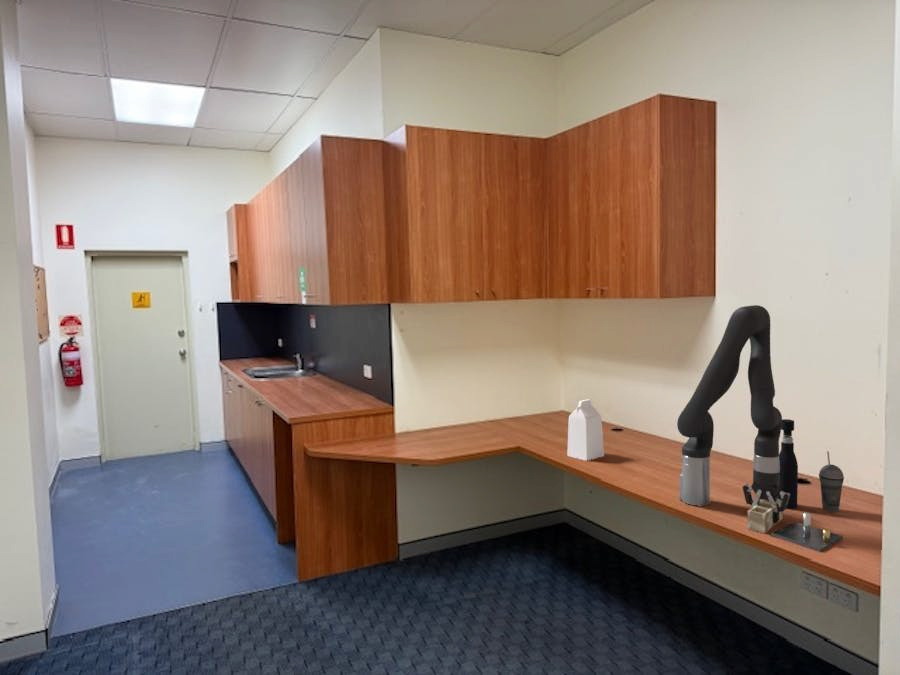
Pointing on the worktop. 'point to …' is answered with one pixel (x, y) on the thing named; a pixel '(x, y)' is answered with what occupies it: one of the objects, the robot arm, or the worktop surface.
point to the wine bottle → (788, 465)
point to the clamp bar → (762, 516)
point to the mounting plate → (807, 535)
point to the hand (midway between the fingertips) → (765, 520)
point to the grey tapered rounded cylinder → (831, 486)
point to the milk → (585, 432)
